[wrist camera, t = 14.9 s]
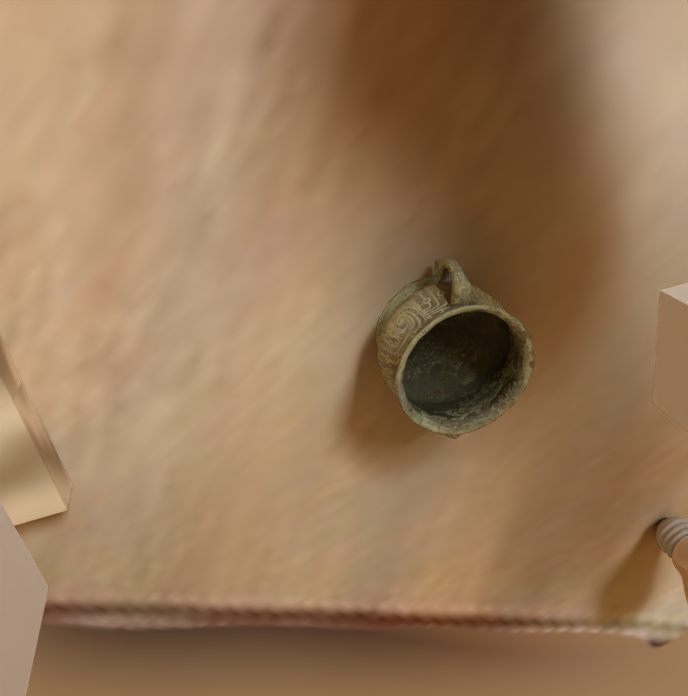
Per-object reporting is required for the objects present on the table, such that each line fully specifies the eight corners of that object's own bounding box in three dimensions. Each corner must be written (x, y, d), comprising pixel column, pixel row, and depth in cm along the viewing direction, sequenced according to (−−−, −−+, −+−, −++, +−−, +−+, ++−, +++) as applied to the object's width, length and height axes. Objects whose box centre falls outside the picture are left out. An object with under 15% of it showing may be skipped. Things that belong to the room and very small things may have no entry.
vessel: (362, 251, 40) (394, 287, 34) (496, 234, 42) (546, 266, 36) (368, 416, 45) (396, 470, 40) (486, 396, 47) (529, 445, 42)
